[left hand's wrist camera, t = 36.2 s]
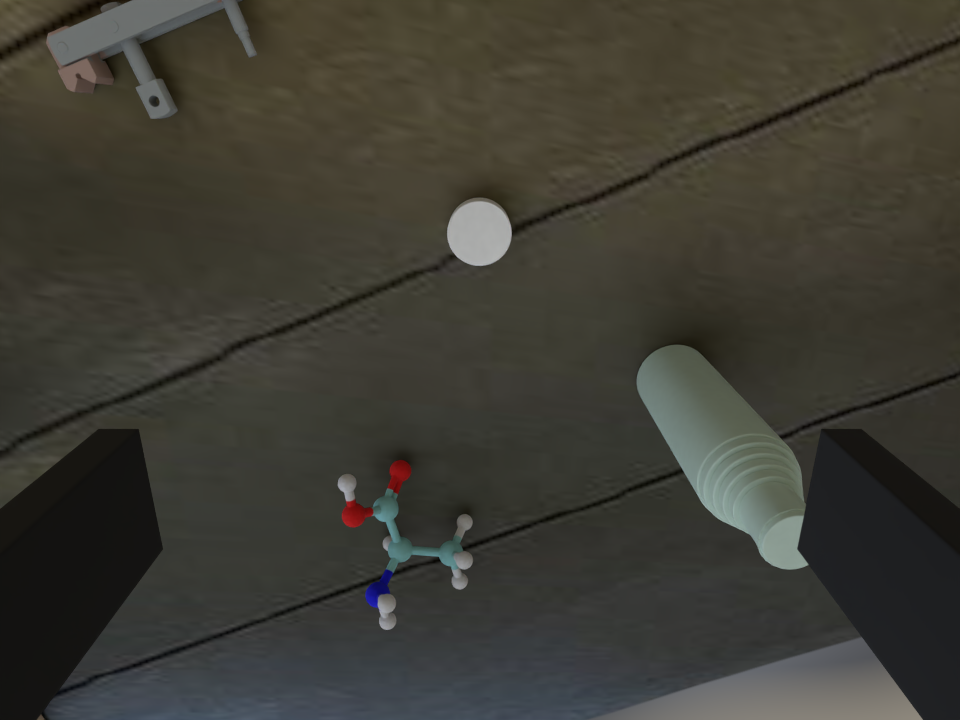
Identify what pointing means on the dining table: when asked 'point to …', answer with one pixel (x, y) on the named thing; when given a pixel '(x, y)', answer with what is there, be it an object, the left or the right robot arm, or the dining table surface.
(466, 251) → the cap
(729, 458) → the bottle
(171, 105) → the clamp
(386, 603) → the molecular model
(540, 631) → the dining table surface
